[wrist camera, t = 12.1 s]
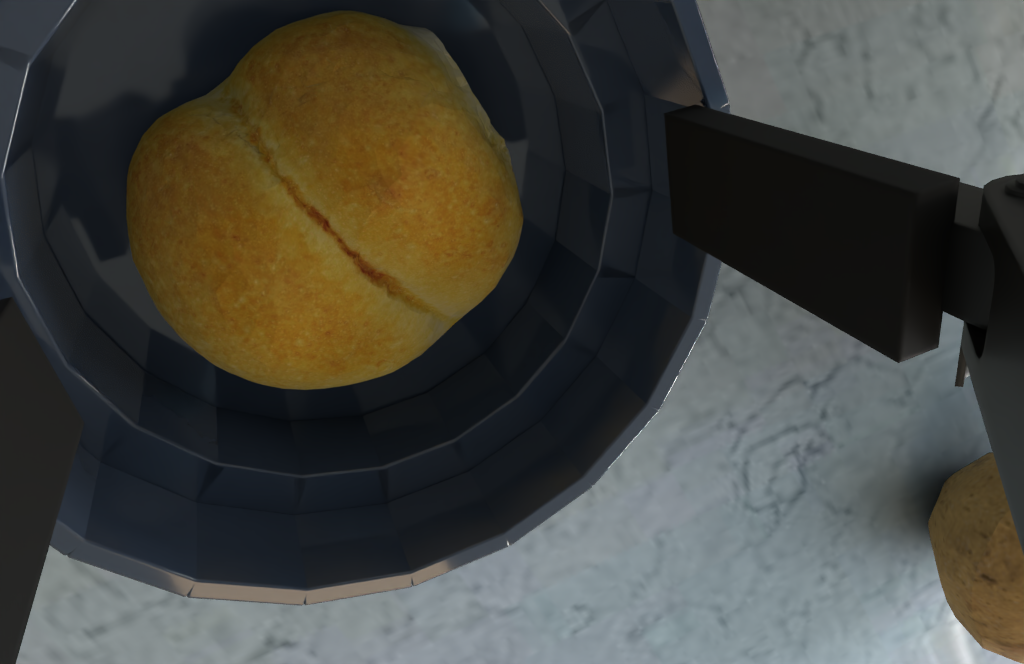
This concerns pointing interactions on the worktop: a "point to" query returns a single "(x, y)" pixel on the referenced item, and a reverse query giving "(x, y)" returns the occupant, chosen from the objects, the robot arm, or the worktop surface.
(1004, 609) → the potato
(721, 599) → the worktop surface
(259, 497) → the blue grey bowl
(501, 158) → the bread roll
